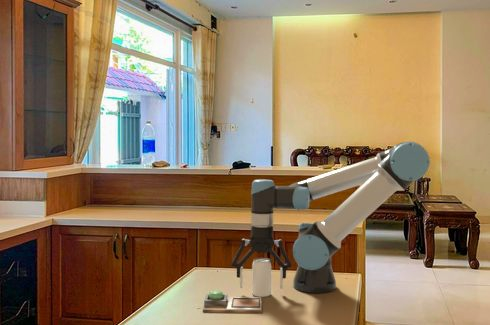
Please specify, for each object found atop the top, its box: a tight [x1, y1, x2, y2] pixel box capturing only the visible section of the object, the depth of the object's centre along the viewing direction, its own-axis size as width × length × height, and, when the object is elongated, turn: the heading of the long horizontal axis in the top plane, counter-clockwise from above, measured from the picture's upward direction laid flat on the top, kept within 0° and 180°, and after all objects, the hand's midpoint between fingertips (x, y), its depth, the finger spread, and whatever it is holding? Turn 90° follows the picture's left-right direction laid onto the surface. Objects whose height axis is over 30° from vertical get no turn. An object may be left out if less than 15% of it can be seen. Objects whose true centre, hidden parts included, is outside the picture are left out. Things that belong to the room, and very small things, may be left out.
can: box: [251, 257, 272, 298], centre depth 173 cm, size 6×6×12 cm
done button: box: [208, 290, 224, 300], centre depth 162 cm, size 4×4×2 cm
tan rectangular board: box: [202, 293, 263, 314], centre depth 162 cm, size 18×13×3 cm
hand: (261, 287), depth 174 cm, fingers open, 13 cm apart
